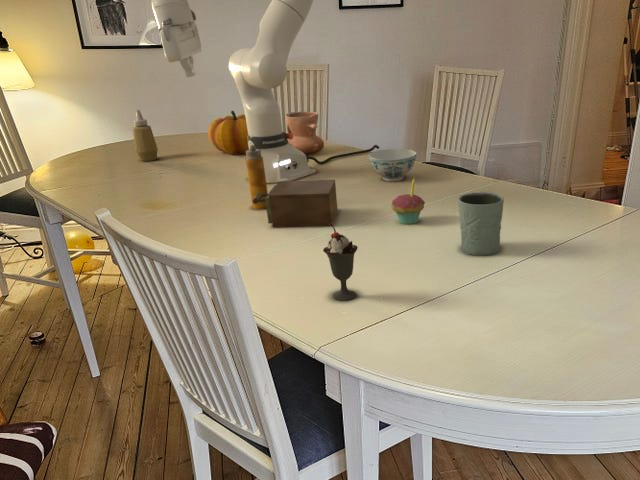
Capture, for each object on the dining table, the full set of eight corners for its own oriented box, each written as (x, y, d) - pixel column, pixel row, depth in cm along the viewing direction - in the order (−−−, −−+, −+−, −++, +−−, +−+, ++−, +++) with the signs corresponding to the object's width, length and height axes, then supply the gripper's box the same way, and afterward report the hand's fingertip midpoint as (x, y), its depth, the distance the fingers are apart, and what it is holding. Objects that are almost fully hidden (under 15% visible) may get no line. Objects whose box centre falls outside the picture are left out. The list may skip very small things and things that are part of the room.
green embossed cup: (490, 259, 144) (492, 206, 138) (449, 252, 149) (450, 201, 143) (508, 245, 152) (511, 194, 146) (469, 239, 157) (470, 189, 151)
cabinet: (272, 227, 171) (268, 195, 166) (282, 211, 182) (278, 181, 178) (331, 226, 170) (328, 193, 165) (337, 210, 181) (335, 179, 177)
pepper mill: (263, 203, 190) (255, 142, 182) (272, 206, 187) (264, 144, 178) (249, 207, 188) (240, 145, 179) (258, 210, 184) (249, 147, 176)
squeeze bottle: (153, 162, 244) (142, 111, 235) (133, 162, 246) (122, 112, 236) (163, 157, 251) (153, 107, 242) (144, 157, 252) (133, 108, 243)
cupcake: (428, 217, 172) (427, 172, 166) (419, 228, 165) (418, 180, 159) (397, 215, 175) (396, 170, 169) (387, 225, 168) (385, 179, 162)
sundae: (327, 290, 134) (320, 219, 126) (359, 288, 134) (355, 217, 127) (327, 304, 128) (320, 231, 121) (361, 301, 128) (356, 228, 121)
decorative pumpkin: (202, 156, 248) (194, 115, 241) (232, 144, 266) (226, 105, 258) (247, 158, 242) (241, 116, 234) (276, 145, 259) (271, 106, 252)
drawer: (252, 224, 171) (248, 198, 168) (262, 209, 182) (259, 185, 178) (322, 222, 170) (320, 196, 166) (328, 207, 181) (326, 183, 177)
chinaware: (362, 183, 205) (361, 158, 201) (380, 171, 217) (379, 147, 213) (407, 186, 200) (406, 160, 196) (423, 173, 211) (422, 149, 208)
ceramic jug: (334, 153, 244) (330, 113, 236) (301, 160, 236) (297, 119, 229) (307, 146, 256) (303, 108, 249) (276, 153, 248) (271, 113, 241)
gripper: (173, 18, 154) (191, 80, 161) (196, 12, 172) (212, 68, 179) (148, 23, 155) (167, 84, 162) (174, 17, 172) (190, 72, 179)
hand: (191, 76), depth 170 cm, fingers closed
